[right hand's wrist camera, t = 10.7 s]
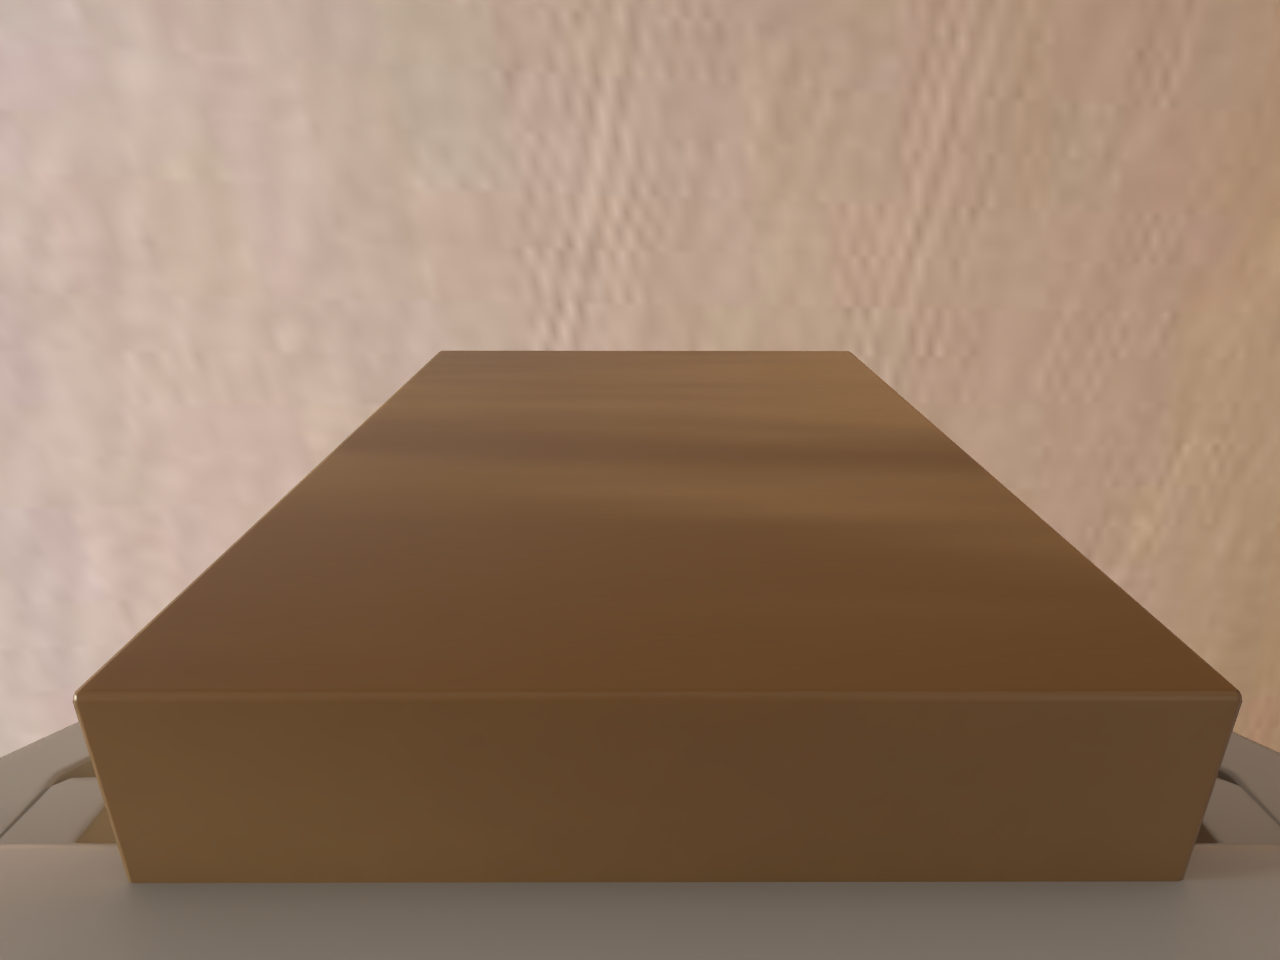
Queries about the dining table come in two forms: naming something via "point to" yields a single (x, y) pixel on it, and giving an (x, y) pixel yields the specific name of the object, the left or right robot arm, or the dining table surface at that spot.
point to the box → (653, 653)
